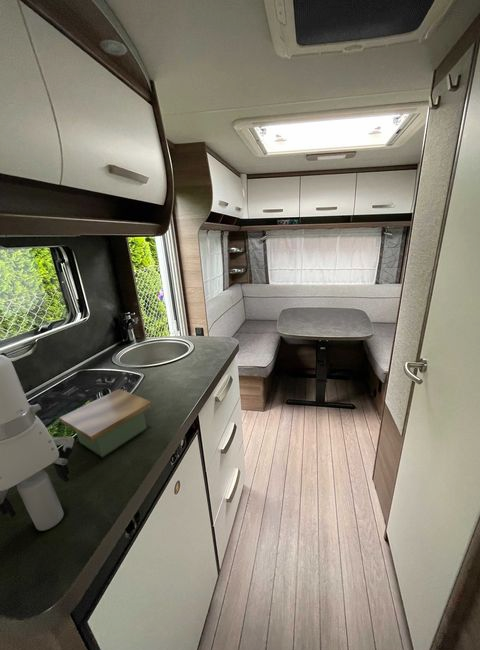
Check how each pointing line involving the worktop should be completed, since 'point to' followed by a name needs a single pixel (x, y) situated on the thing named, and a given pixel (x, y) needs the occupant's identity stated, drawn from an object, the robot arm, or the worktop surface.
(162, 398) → the worktop surface
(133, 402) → the board
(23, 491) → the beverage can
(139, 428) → the box
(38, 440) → the robot arm
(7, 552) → the worktop surface
